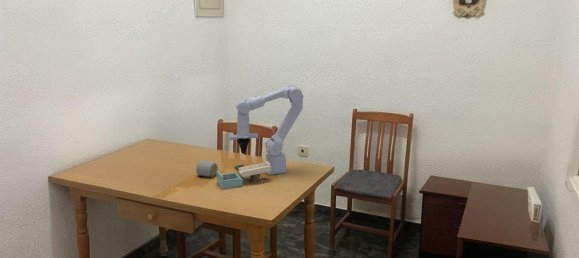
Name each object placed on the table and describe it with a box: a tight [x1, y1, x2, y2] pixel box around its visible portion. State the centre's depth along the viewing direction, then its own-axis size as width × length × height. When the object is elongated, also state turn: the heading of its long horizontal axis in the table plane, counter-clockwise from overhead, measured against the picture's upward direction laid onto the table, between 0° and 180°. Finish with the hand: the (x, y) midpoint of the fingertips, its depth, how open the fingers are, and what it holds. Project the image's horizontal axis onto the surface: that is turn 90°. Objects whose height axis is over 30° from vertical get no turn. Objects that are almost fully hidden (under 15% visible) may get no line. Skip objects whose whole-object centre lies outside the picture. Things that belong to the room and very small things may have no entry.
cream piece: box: [234, 160, 271, 178], centre depth 235 cm, size 14×14×4 cm
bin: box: [216, 170, 244, 190], centre depth 227 cm, size 10×9×6 cm
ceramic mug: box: [195, 159, 219, 178], centre depth 241 cm, size 11×8×8 cm
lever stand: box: [245, 173, 265, 185], centre depth 233 cm, size 6×8×4 cm
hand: (243, 153), depth 241 cm, fingers closed
